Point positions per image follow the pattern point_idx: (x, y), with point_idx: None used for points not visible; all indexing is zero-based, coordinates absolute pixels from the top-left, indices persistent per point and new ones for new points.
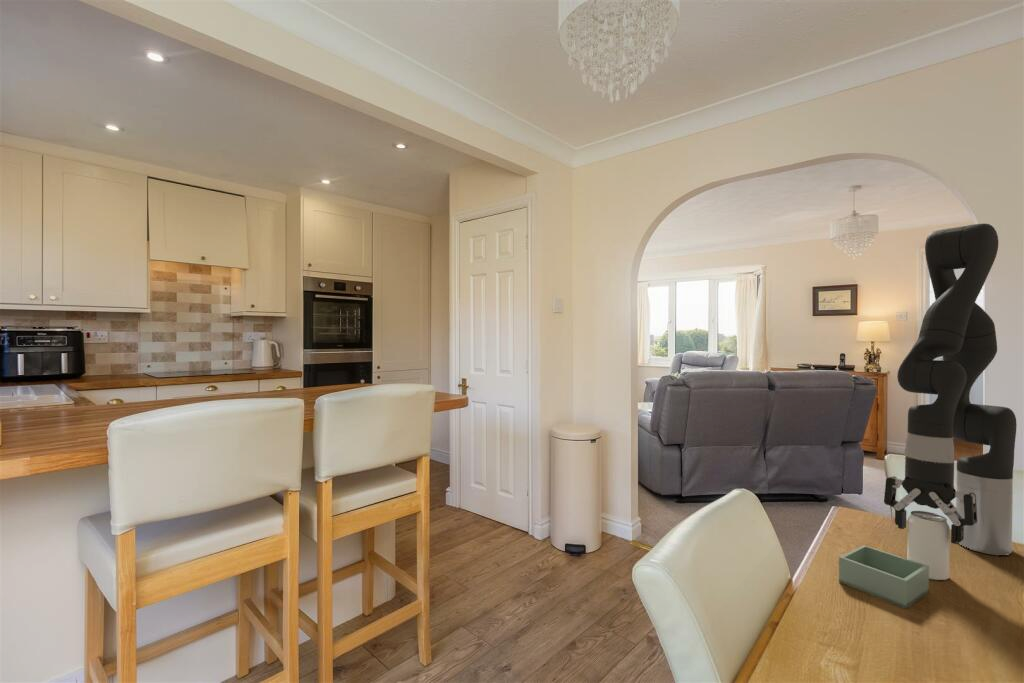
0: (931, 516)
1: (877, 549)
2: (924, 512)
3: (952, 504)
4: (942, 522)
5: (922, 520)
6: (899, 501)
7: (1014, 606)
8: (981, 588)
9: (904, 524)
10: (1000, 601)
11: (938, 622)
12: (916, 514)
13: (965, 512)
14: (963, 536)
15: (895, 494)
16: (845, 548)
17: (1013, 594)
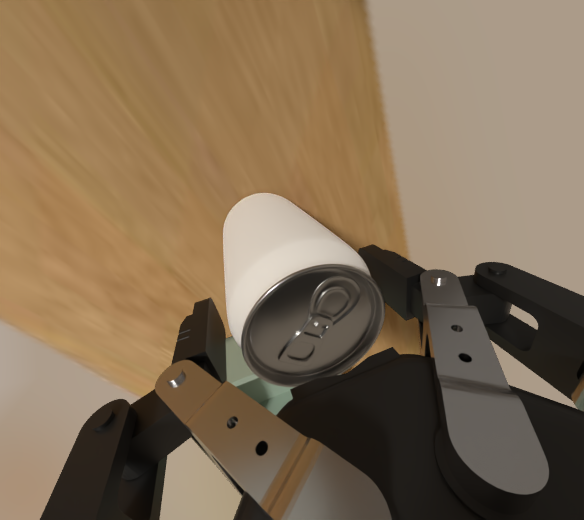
0: (313, 301)
1: (239, 380)
2: (267, 293)
3: (483, 338)
4: (374, 324)
5: (321, 371)
6: (214, 463)
7: (400, 209)
8: (347, 187)
9: (216, 319)
10: (382, 213)
11: (360, 359)
12: (268, 348)
13: (525, 360)
14: (400, 257)
15: (112, 483)
16: (86, 305)
17: (387, 146)
